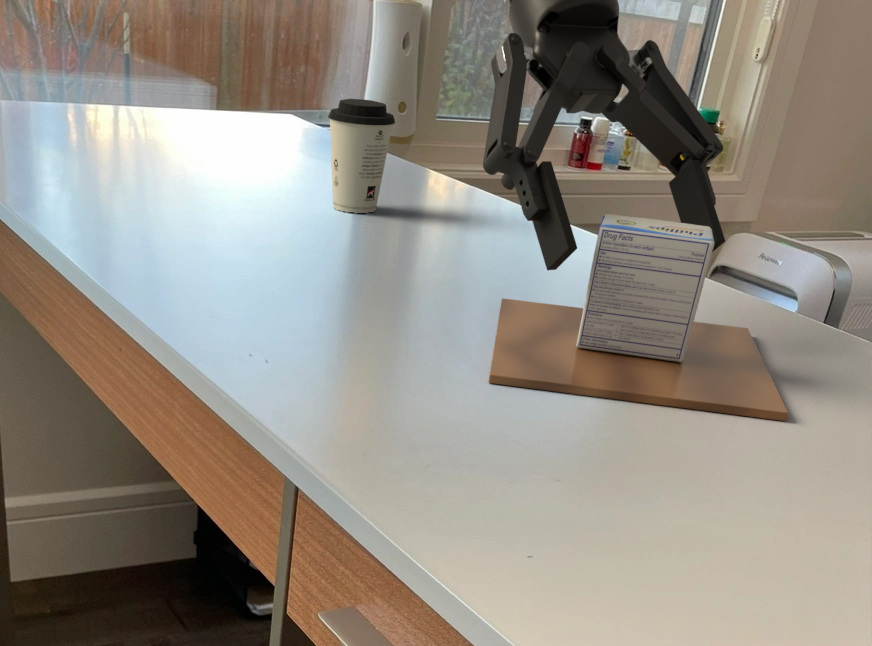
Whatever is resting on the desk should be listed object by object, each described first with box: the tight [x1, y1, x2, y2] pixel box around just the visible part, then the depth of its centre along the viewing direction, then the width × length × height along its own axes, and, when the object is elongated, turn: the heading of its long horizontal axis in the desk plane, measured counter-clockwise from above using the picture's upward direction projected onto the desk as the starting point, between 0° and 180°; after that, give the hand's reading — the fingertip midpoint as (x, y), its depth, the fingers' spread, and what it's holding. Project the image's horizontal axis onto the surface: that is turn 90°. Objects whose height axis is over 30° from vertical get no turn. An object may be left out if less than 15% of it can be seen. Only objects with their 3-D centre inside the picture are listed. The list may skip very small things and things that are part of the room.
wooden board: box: [488, 298, 789, 422], centre depth 83 cm, size 20×20×1 cm
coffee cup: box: [327, 98, 396, 214], centre depth 116 cm, size 7×7×10 cm
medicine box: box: [576, 213, 714, 362], centre depth 81 cm, size 8×4×9 cm, turn 76°
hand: (638, 256), depth 80 cm, fingers open, 13 cm apart
